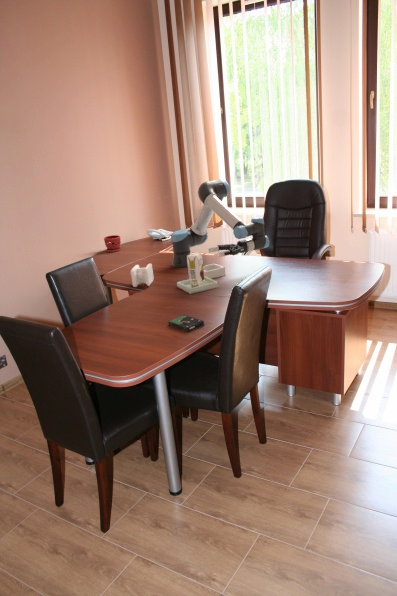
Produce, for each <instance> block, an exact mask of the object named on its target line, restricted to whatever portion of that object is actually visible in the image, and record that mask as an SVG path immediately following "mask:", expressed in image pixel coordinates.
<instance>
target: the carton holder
mask: <svg viewBox="0 0 397 596" xmlns="http://www.w3.org/2000/svg"><path fill="white" fill-rule="evenodd" d="M203 269H204V276H206V277H208V278H210V279H212V280H213V279H214V278H219V277H220V278H221V277H223V276H226V267H225V266H222V265H220V264H217V263H211V264H210V263H209V264H206V265H203Z"/></svg>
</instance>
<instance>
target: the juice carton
mask: <svg viewBox="0 0 397 596" xmlns="http://www.w3.org/2000/svg"><path fill="white" fill-rule="evenodd" d="M187 265H188V267H187V271H188V272H187V273H188V279H189V281H190V286H191V287H197V286H201V285H204V282H205V279H204V269H203V266H204V261H203V256H202V252H191V254H190V255H188V256H187Z"/></svg>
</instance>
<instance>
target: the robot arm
mask: <svg viewBox="0 0 397 596" xmlns="http://www.w3.org/2000/svg"><path fill="white" fill-rule="evenodd" d="M230 193H231V190H230V184H229V183H228V181H227V180H225V179H224V178H217V179H214V180H209V181H208V180H207V181H204V182H203V183H201V184H200V185H199V187H198V191H197V195H198V198H199V200H200V201H201V203H202V204H203V205H202V207H201V208H200V211H199V213H198V216H197V218H196V220H195V221H194V223H192V224H191V226H190V228H189V229H186V228H185V229H182V228H181V229H177V230H176V231H174V232H173V231H172V233H171V244H172V251H173V256H172V257H173V258H172V263H171V264H172V265H171V266H172V267H174V268H188V265H187V256H188V255H190V254H191V253H192V252H191V248H193V247H196V246H200V245H203V244H204V243H206V242H207V240H208V237H209V235H208V229H207V228H208V226H209V225H210V224H209V223H210V222H211V220H212V218H213V215H214V214H216V215H217V216H218V217H219V218H220V219H221V220H222V221H223V222H224V223H225V224H226V225H227V226H228V227H229V228H230V229H232V231H233V232H232V233H233V235H234V238H236V239H237V240H238V241H237V243H236V244H235V243H227V244H218V245H217V244H216V246H214V247H213V246H212V247H208V248H207V250H208V253H209V254H211V253H215V252H218V257H219V258H221V257H226V256H235V255H237V254H243V253H251V252H253V251H258V250H263V249H266V248H268V247H269V246H270V239H269V237H268V236H267V235H266V233H265V221H264V217H261V216H255V217H252V218H251V219H250V220H251V221H250V222H248V223H246V222H244V221H243V220H242V219H241V218H240V217H239V216H238V215H236V213H234V211H232V210H231V209H230V208H229V207H228V206H227V205H226V204H225V203H224V202H223V199H224V198H226V197H228V196H229V194H230ZM248 237H252V238H248ZM246 238H247V239H246Z"/></svg>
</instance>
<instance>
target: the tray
mask: <svg viewBox="0 0 397 596" xmlns="http://www.w3.org/2000/svg"><path fill="white" fill-rule="evenodd" d="M204 279H205V282H204V285H201V286H197V287H191V286H190V281H189V278H188V279H185V280H180V281H177V282H176V285H177V288H178V289H181V290H182V291H184V292H186V293H188V294H189V295H193V294H196V293H199V292H206V291H209V290H212V289H216V288H219V282H218V281H217V280H214V279H213V278H212V279H210V278H208V277H206V276H204Z"/></svg>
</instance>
